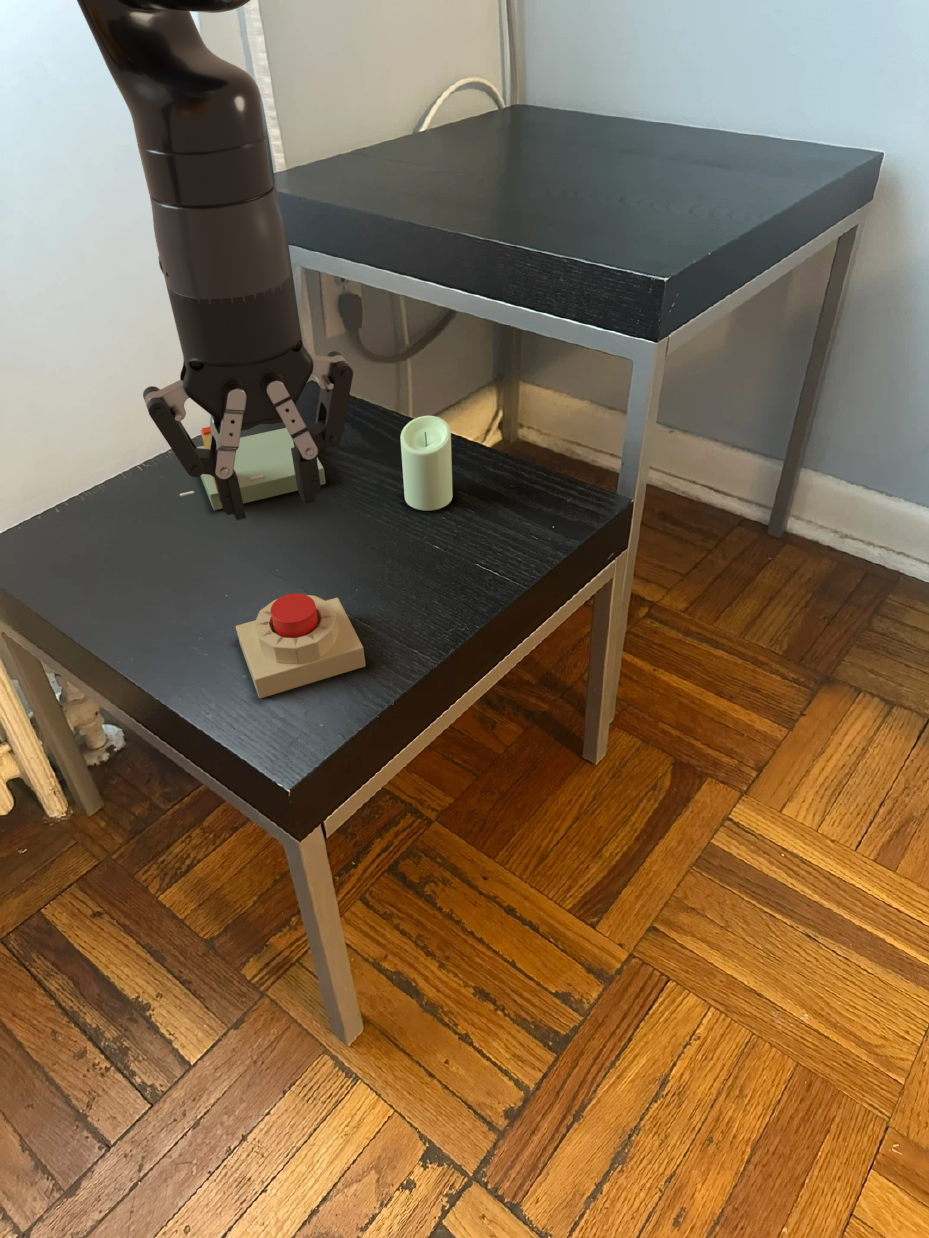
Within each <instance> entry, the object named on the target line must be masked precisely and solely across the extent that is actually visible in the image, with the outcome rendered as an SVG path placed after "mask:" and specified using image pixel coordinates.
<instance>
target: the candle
mask: <svg viewBox="0 0 929 1238" xmlns="http://www.w3.org/2000/svg"><path fill="white" fill-rule="evenodd" d="M400 451H401V465H402V479H403V480H402V481H403V494H404V495H403V496H404V501H405V503H406V504H407V505H408V506H410V507H411V508H413V509H415V510H419V511H423V512H425V511H426V512H429V511H430V512H431V511H437V510H440V509H442V508H444V507H447V506H448V505H449V504H450V503H451V502H452V500H453V467H452V466H453V463H452V462H453V461H452V433H451V427H450V425H449V423H447V422H446V421H445V419H443V418H441V417H439V416H435V415H422V416H418V417H415V418H413V419H412V420H410V421H409V422H407V424H406V425H405V426H404V427H403V428H402V430H401V433H400Z"/></svg>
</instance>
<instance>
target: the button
mask: <svg viewBox="0 0 929 1238" xmlns="http://www.w3.org/2000/svg"><path fill="white" fill-rule="evenodd" d="M307 595H308V594H303V593H289V594H285V595H283V596H281V597H279V598H276V599H277V600H276V599H275V600H276V601H275V602H274V603H273V604H272V606H271V610H270V611H271V617H272V621H273V626H274V630H275V631H276V633H277V634H279V635H280V636H282V637H285V638H298V637H301V636H305V635H308V634H310V633H311V632H312V631H314V630H315V628H316V627H317V624H318V617H317V611H316V605H315V602H314V600H313V599H312V598H311V597H309V596H307Z"/></svg>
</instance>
